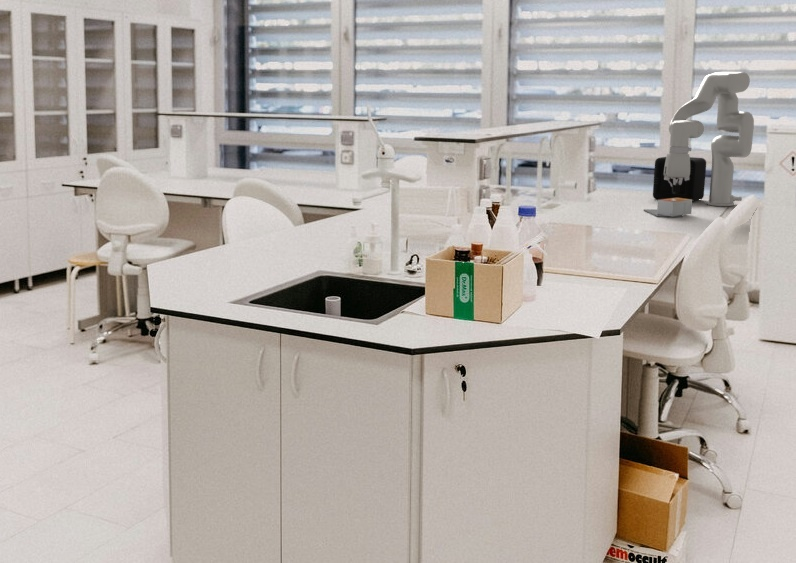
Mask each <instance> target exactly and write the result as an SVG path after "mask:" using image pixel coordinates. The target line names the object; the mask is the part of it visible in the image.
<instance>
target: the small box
mask: <svg viewBox="0 0 796 563" xmlns="http://www.w3.org/2000/svg"><path fill="white" fill-rule="evenodd" d="M656 206H657V207H656V209H657V214H659V215H665V216H679V215H683V216H685V215H692V212H693V210H692V208H693V202H692V199H683V198H670V199H661V200H657V205H656Z"/></svg>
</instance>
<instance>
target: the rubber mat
mask: <svg viewBox="0 0 796 563" xmlns="http://www.w3.org/2000/svg"><path fill="white" fill-rule="evenodd" d="M643 212H645V213H648V214H649V215H651V216H654V217H656V218H683V216H684V215H679V216H665V215H659V214H657V208H655V209H652V208H651V209H650V208H649V209H643Z"/></svg>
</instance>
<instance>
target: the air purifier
mask: <svg viewBox="0 0 796 563" xmlns="http://www.w3.org/2000/svg"><path fill="white" fill-rule="evenodd" d="M665 161H666V156H663V157H658V158H656V159H655V161H654V170H653V171H654V172H653V188H652V197H653V198H654V200H657V201H658V200H661V199H670V198H683V199H692V201H693V202H697V201H700V200H699V199H701V200H702V199H703V198H704V196H705V187H706V186H705V184H706V172H707V170H706V169H707V160H706V159H705V158H703V157H691V156H690V176H689V178H690V179H689V180H686V181H684V182H683V183H682V184H681V185H680V192H679V194H673V192H672V184H671V182H670V181H668V180H664V166H665ZM669 178H670V177H669ZM677 179H678V178H676V183H677ZM696 200H697V201H696Z"/></svg>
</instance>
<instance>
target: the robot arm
mask: <svg viewBox="0 0 796 563" xmlns="http://www.w3.org/2000/svg"><path fill="white" fill-rule="evenodd" d="M750 79H751V78H750V75H749V74H748V72H745V71H717V72H713V73H709V74H707V75H706V76H704V77H703V79H702V81H701V83H700V85H699V87H698V88H697V91H696V93H695V95H694V97H693V99H691V100H689V101H688V102H686V103H685V104H683V105H682V106H680V108H678V109H677V111H676V112H675V113H674V115H673V116H672V118H671V120H670V123H669V127H668V132H669V134H670V138H669V140H670V141H669V152H668V153H667V154H666V156H665V157H666V161H665V166H664V180H668V181H670V182H671V184H672V192H673V194H679V192H680V185H681V184H682V183H683V182H684V181H686V180H689V179H690V178H689V176H690V157H691V156H690V154H689V152H691V151H692V147H689V143H690V139H698V138H700V137H701V136H702V135H703V134H704V130H705V126H704V124H703V122H702V121H700V120H696V119H690V117H693V116H696V115H699V114H702V113H705V112H707V111H709V110H711V109H712V107H713V105H714V103H715V101H716V99H717V115H716V129H717V130H718V131H720V132H721V133H723V132H724V133H734V134H735V133H736V134H739V135H730V134H729V135H727V134H724V135H723V134H720V135H717V136H715V137H713V139H712V140H711V145H710V146H711V147H710V149H711V150H710V151H711V172H710V182H709V185H710V186H709V196H708V197H709V198H708V200H706V201H705V202H704V204H705V205H707V204H708V206H713V207H716V206H717V207H732V206H735V201H737V202H742V200H743V197H742V196H735V195H733V194H732V192H733V183H734V182H733V180H734V169H735V168H734V167H735V166H734V163H733V161H732V159H731V158H740V159H741V158H743V159H744V158H747V157H749V156H750V154H751V151H752V147H753V141H754V140H753V138H754V129H755V128H754V126H755V121H754V120H755V119H754V116H753V114H752V113H751V112H749V111H742V110H738V109H739V97H738V96H737V94H738V93H743V92H745V91H746V90H748V88H749V86H750V82H751V80H750ZM669 177H670V178H669ZM676 178H678V179H677V183H676Z"/></svg>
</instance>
